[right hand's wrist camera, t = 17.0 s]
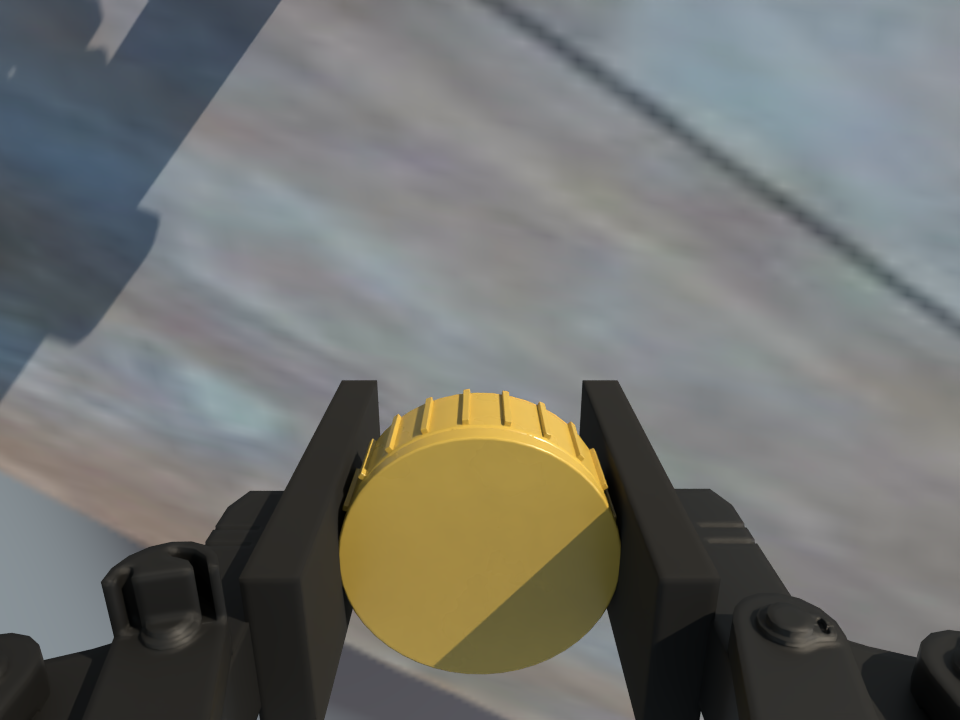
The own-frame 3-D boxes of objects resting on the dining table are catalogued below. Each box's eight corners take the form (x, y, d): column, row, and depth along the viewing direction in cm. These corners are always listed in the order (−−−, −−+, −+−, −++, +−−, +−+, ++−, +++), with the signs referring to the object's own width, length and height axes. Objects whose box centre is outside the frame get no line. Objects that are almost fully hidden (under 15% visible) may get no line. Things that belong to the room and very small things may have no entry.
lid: (446, 335, 11) (440, 374, 9) (659, 478, 12) (688, 536, 10) (305, 528, 12) (278, 592, 11) (507, 644, 13) (511, 719, 12)
